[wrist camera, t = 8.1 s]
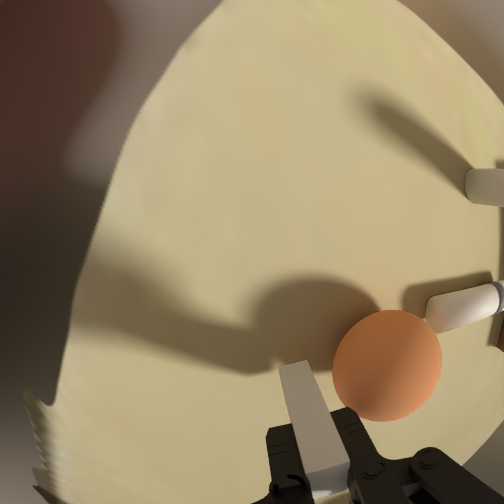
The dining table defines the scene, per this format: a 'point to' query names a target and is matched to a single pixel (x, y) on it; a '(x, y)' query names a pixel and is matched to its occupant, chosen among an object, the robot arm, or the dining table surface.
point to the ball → (387, 365)
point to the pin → (464, 306)
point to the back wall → (501, 339)
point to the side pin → (485, 186)
